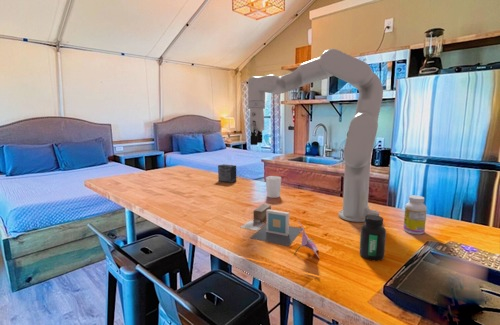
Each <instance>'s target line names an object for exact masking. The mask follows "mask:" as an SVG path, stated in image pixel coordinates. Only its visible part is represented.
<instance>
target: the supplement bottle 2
mask: <svg viewBox="0 0 500 325" xmlns="http://www.w3.org/2000/svg"><path fill="white" fill-rule="evenodd" d="M408 200H409V201H408V202H407V203H405V206H404V215H403V216H404V218H403V231H405V232H406V233H409V234H411V235H418V236H419V235H423V234H425V230H426V222H427V211H428V207H427V206H426V204H425V197H424V196H422V195H415V194H413V195H409V196H408Z"/></svg>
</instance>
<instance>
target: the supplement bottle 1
mask: <svg viewBox="0 0 500 325" xmlns="http://www.w3.org/2000/svg"><path fill="white" fill-rule="evenodd" d="M386 239H387V229H386V228H385V227H384V218H383V217H382V216H380V215H379V216H377V215H366V216H365V222H364V223H363V224H362V225H361V227H360V237H359V255H360V256H361V257H362V258H363V259H365V260H368V259H369V260H368V261H372V260H375V261H374V262H379V261H378V260H380V261H382V260H383V259H384V258H385V251H386Z"/></svg>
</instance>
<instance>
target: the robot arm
mask: <svg viewBox="0 0 500 325" xmlns="http://www.w3.org/2000/svg"><path fill="white" fill-rule="evenodd" d="M330 77H336V78H338V79H340V80H341V81H344V82H346V83H348V84H349V85H351V86H352V87H354V88H356V89H357V90H358V91H357V92H358V99H357V103H356V108H355V113H354V116H353V117H352V119H351V121H350V122H349V126H348V131H347V135H346V140H345V144H344V148H343V152H342V153H343V154H342V155H343V156H342V157H343V160H344V174H343V175H344V178H343V196H342V210H340V211H338V217H339V218H340V219H342V220H344V221H348V222H354V223H365V216H366V215H377V216H380V211H377V210H374V209H370V206H369V205H368V204H369V193H370V192H369V189H370V174H371V161H372V160H371V159H372V153H373V149H374V145H375V142H376V137H377V133H378V129H379V115H380V112H381V108H382V103H383V97H384V87H383V83H382V81H381V79H380V77H379V76H378V75H377V74H376V73H375V72H374V71H373V70H372V67H371V66H370V65H369V64H368V62H366V61H363V60H361V59H359V58H356V57H355V56H352V55H349V54H347V53H345V52H343V51H341V50H339V49H336V48H329V49H326V50H324V52H322V54H321V55H320V56H319V57H317V58H313V59H310V60H308V61H305V62H303V63H301V64H300V65H298V67H297V68H296V69H295V70H293V71H291V72H290V73H287V74H284V75H280V76H277V75H275V74H267V75H263V76H250V77H249V78H248V80H247V109H248V110H249V130H250V132H249V133H250V134H249V136H250V138H249V139H250V141H249V142H250V145H251V146H257V145H258V144H262V143H263V131H264V130H265V113H264V112H265V111H264V110H265V109H266V93H267V94H268V93H269V94H274V95H281V94H285V93H288V92H291V91H294V90H296V89H299V88H301V87H304V86H306V85H309V84H312V83H315V82H317V81H321V80H324V79H328V78H330Z"/></svg>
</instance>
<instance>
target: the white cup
mask: <svg viewBox="0 0 500 325" xmlns="http://www.w3.org/2000/svg"><path fill="white" fill-rule="evenodd" d="M265 186H266V197H267V198H269V199H276V198H280V197H281V189H282V188H281V186H282V176H278V175H269V176H266V177H265Z"/></svg>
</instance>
